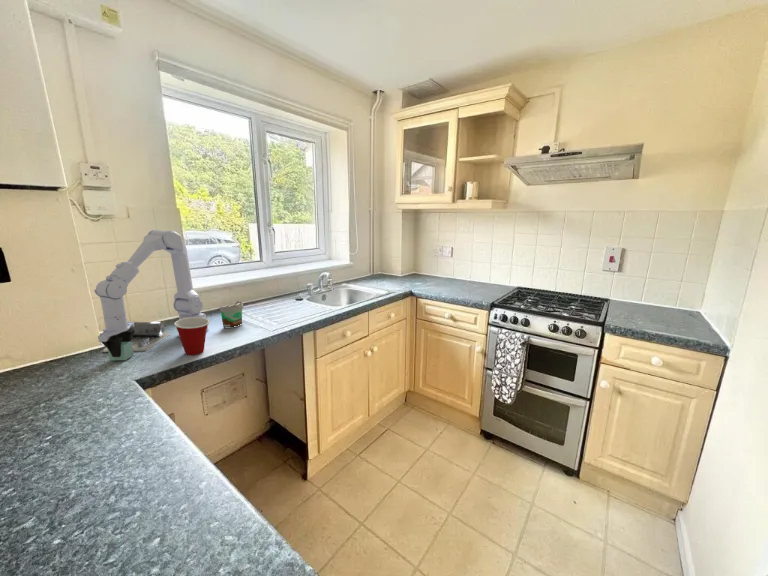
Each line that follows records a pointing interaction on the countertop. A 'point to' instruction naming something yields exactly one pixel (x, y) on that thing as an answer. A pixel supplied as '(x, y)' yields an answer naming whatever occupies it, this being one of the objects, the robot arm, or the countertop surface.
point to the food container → (232, 314)
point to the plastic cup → (192, 334)
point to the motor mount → (146, 335)
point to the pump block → (123, 351)
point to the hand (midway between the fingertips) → (121, 353)
